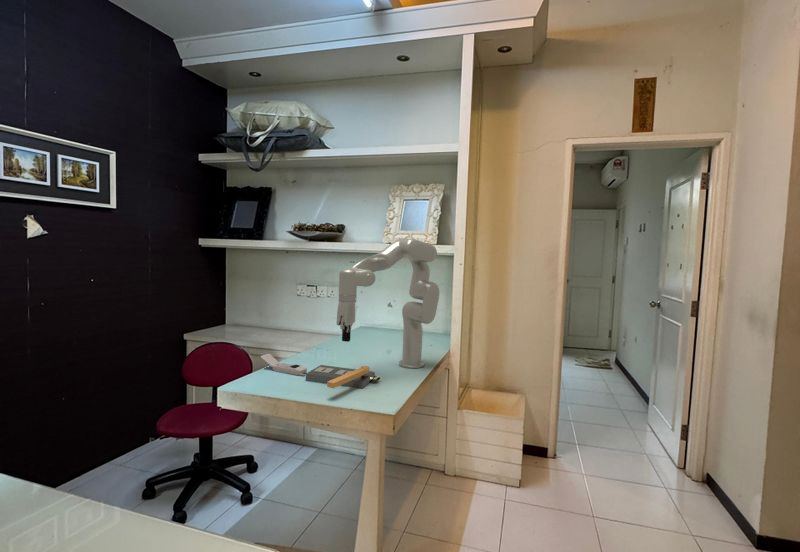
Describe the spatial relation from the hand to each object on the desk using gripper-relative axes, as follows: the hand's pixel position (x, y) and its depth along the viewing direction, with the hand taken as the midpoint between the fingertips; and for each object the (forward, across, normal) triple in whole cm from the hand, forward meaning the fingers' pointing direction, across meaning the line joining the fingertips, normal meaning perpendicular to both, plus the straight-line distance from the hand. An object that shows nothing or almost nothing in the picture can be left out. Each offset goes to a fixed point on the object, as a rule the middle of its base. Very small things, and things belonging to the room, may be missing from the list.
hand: (346, 341), depth 172 cm
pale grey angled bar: (+18, -1, -30) cm, 35 cm away
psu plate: (+17, 0, -2) cm, 17 cm away
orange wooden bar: (+13, +10, +7) cm, 18 cm away
